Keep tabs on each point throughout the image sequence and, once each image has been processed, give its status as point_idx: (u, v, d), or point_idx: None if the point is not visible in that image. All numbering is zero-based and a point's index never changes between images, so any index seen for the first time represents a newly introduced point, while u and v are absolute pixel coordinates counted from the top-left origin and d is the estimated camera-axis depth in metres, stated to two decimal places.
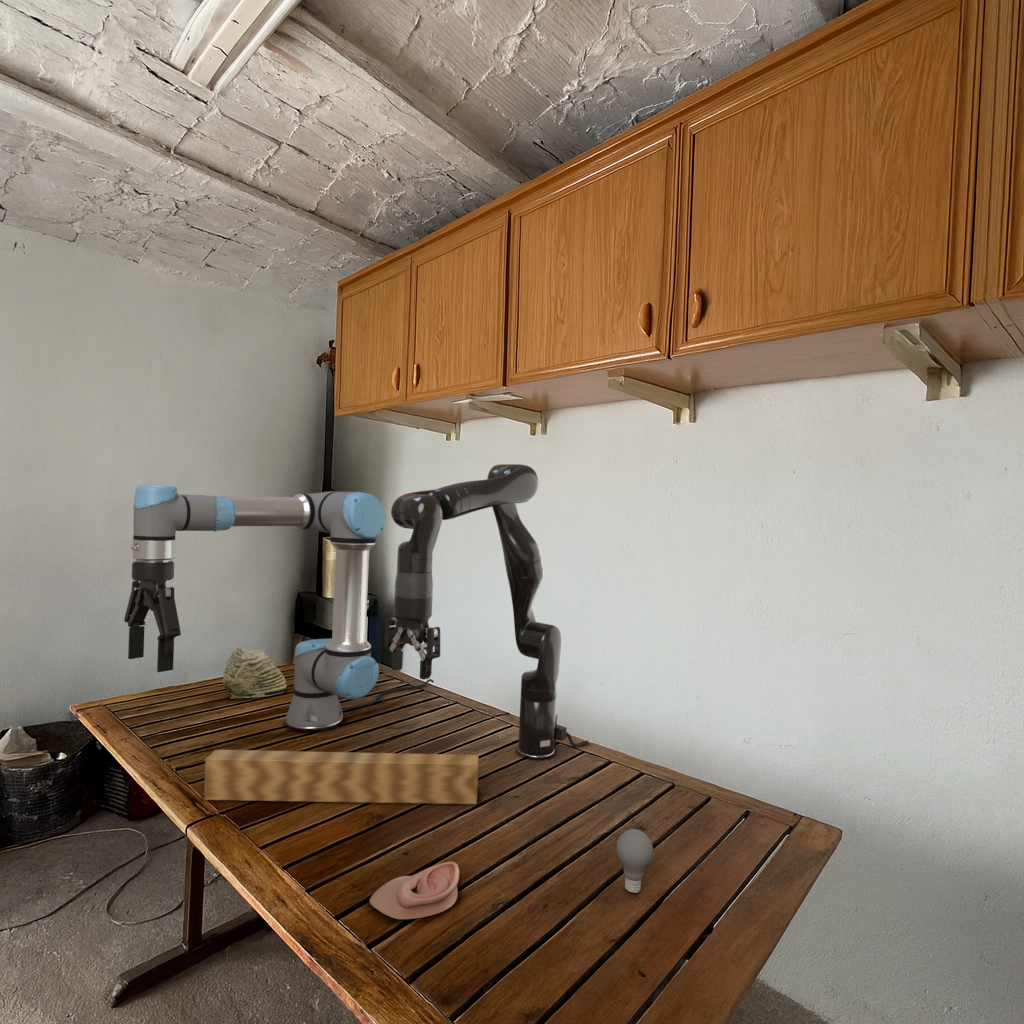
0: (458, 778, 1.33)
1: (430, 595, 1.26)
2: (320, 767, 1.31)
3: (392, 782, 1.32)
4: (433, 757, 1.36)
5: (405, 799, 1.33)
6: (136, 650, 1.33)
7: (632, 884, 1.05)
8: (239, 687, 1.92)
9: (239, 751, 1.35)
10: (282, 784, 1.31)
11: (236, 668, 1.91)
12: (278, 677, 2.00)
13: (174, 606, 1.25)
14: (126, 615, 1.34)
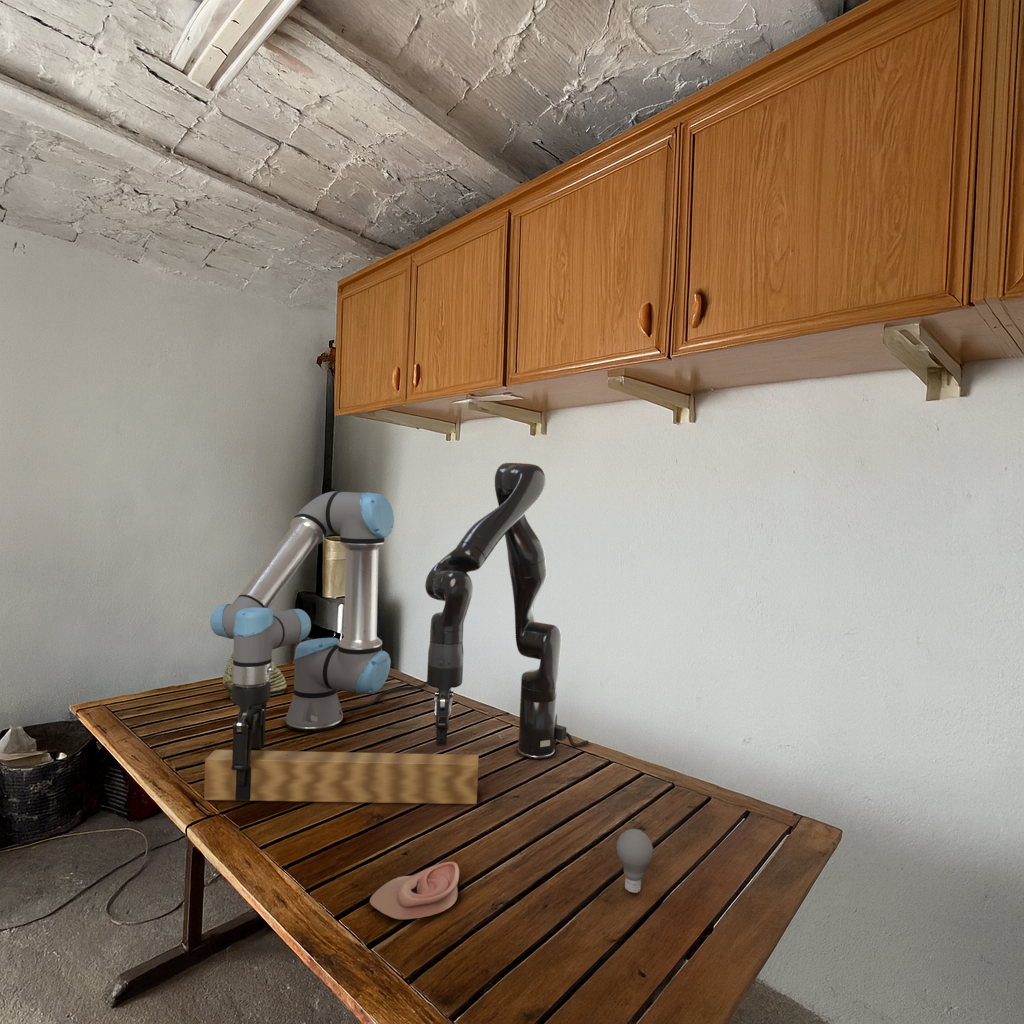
0: (458, 778, 1.33)
1: (451, 666, 1.32)
2: (320, 767, 1.31)
3: (392, 782, 1.32)
4: (433, 757, 1.36)
5: (405, 799, 1.33)
6: None
7: (632, 884, 1.05)
8: None
9: None
10: (282, 784, 1.31)
11: None
12: (278, 677, 2.00)
13: None
14: (245, 761, 1.27)
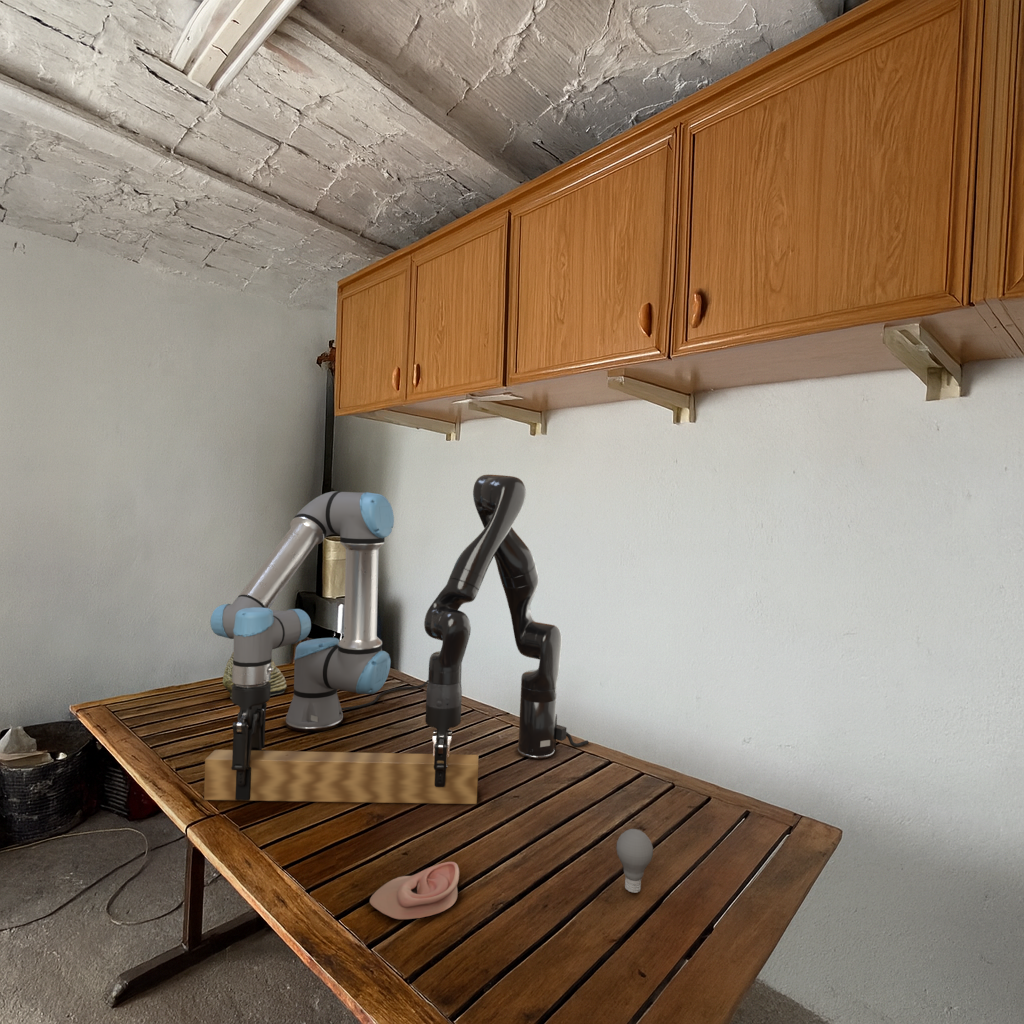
0: (458, 778, 1.33)
1: (449, 706, 1.32)
2: (320, 767, 1.31)
3: (392, 782, 1.32)
4: (433, 757, 1.36)
5: (405, 799, 1.33)
6: None
7: (632, 884, 1.05)
8: None
9: None
10: (282, 784, 1.31)
11: None
12: (278, 677, 2.00)
13: None
14: (245, 761, 1.27)
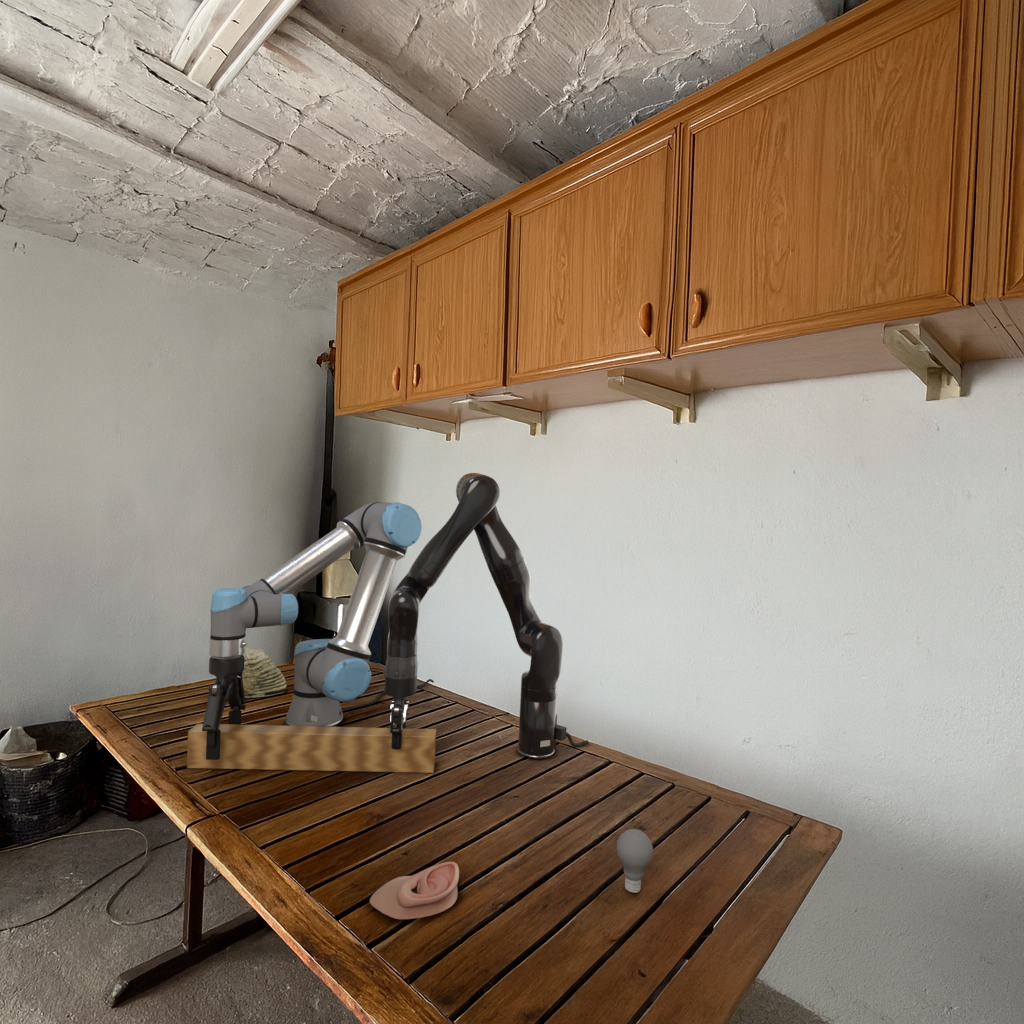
0: (417, 749, 1.47)
1: (405, 677, 1.46)
2: (292, 739, 1.46)
3: (357, 752, 1.47)
4: None
5: (369, 768, 1.47)
6: None
7: (632, 884, 1.05)
8: None
9: None
10: (257, 754, 1.45)
11: None
12: (278, 677, 2.00)
13: None
14: (215, 723, 1.39)
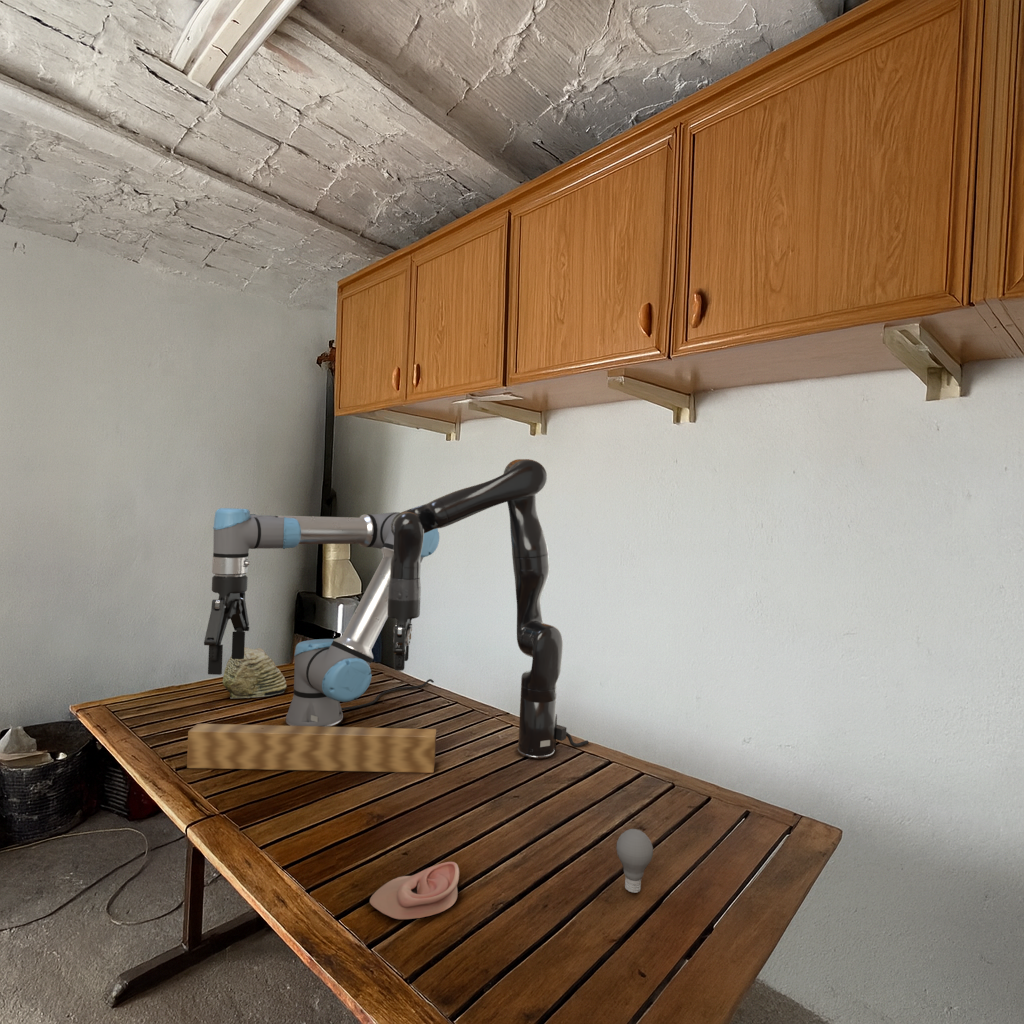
0: (417, 749, 1.47)
1: (408, 599, 1.46)
2: (292, 739, 1.46)
3: (357, 752, 1.47)
4: (395, 730, 1.50)
5: (369, 768, 1.47)
6: None
7: (632, 884, 1.05)
8: (239, 687, 1.92)
9: (219, 725, 1.49)
10: (257, 754, 1.45)
11: (236, 668, 1.91)
12: (278, 677, 2.00)
13: None
14: (217, 637, 1.38)
